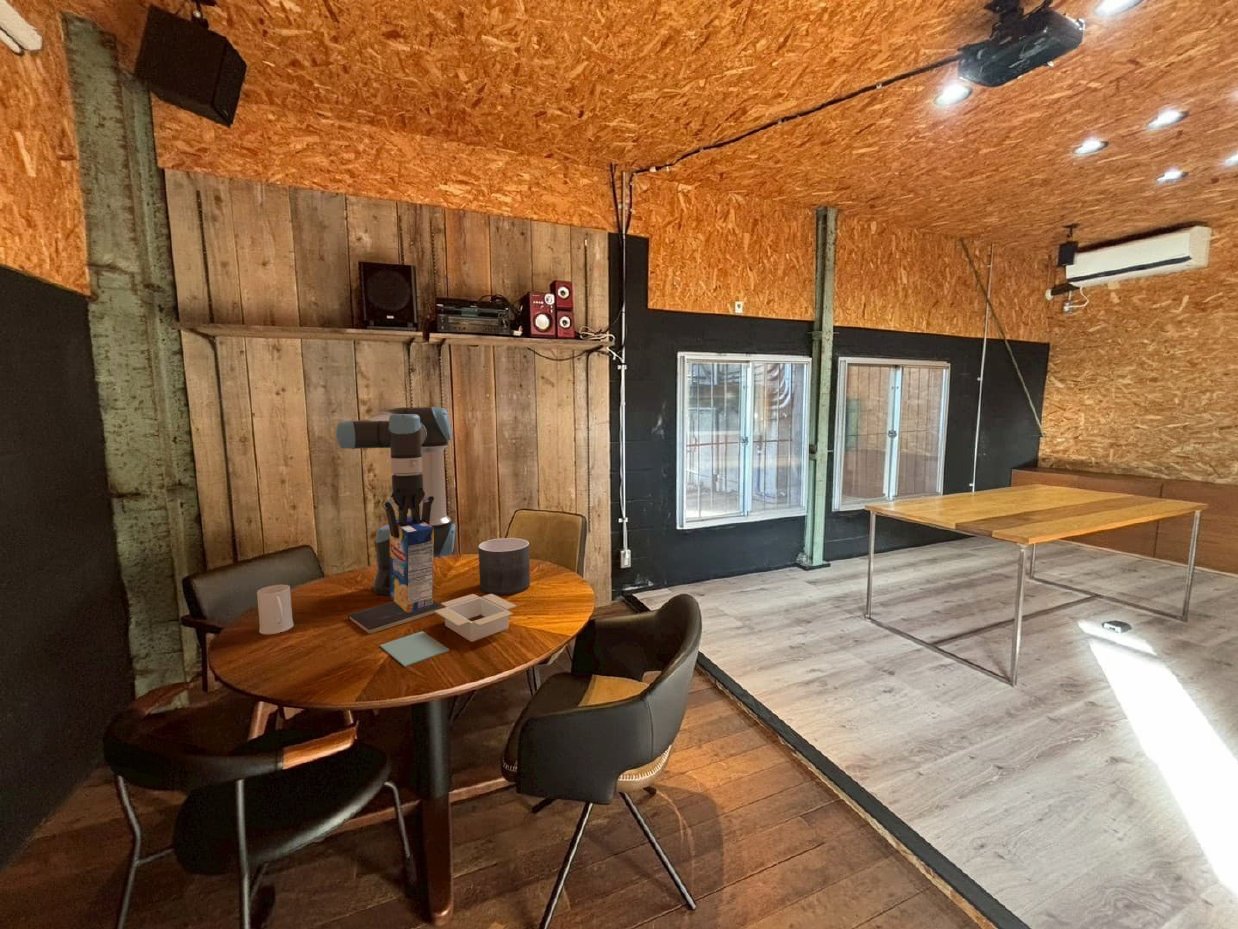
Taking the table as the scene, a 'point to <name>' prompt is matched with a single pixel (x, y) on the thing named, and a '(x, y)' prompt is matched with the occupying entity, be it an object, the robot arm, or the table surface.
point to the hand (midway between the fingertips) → (411, 560)
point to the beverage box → (412, 566)
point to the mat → (414, 648)
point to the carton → (472, 607)
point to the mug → (274, 609)
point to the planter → (504, 566)
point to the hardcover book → (389, 616)
